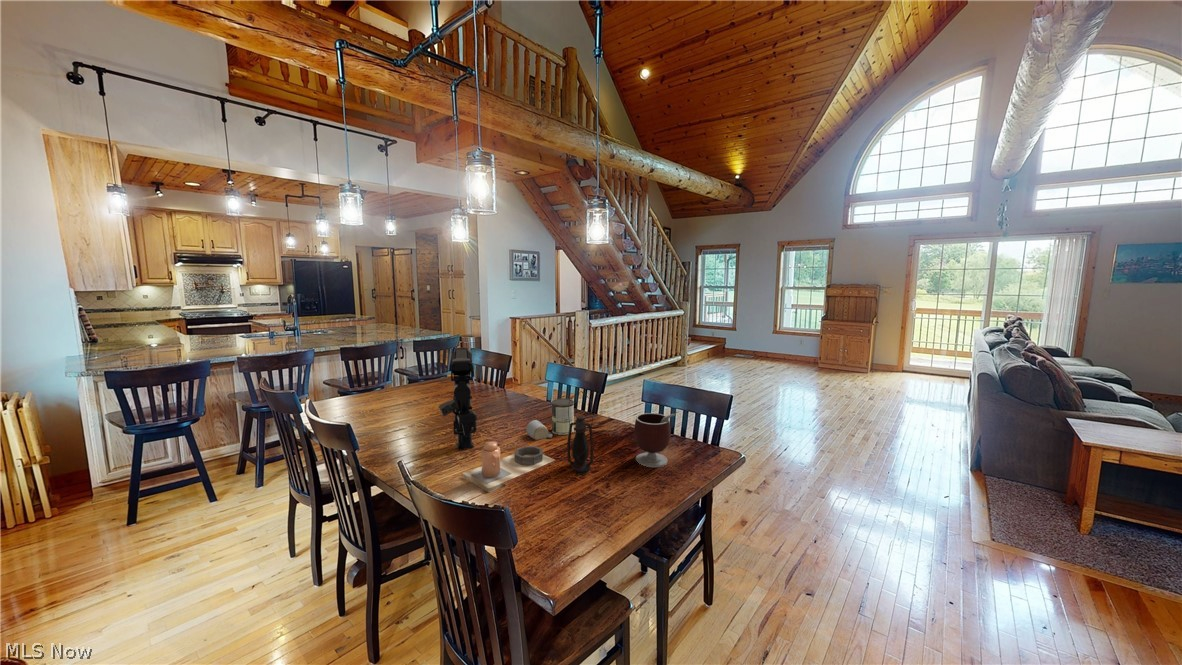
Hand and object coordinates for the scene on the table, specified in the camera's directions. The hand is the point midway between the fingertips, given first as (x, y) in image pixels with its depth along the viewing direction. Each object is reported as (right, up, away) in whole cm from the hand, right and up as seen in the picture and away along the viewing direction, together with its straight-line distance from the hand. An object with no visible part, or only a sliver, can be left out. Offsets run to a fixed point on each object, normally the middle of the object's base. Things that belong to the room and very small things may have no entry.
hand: (464, 432), depth 161 cm
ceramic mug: (+26, -9, +26) cm, 38 cm away
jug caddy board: (+19, -13, -4) cm, 23 cm away
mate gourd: (+73, -12, +4) cm, 74 cm away
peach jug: (+14, -12, -12) cm, 22 cm away
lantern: (+44, -13, -3) cm, 46 cm away
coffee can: (+35, -8, +35) cm, 51 cm away
